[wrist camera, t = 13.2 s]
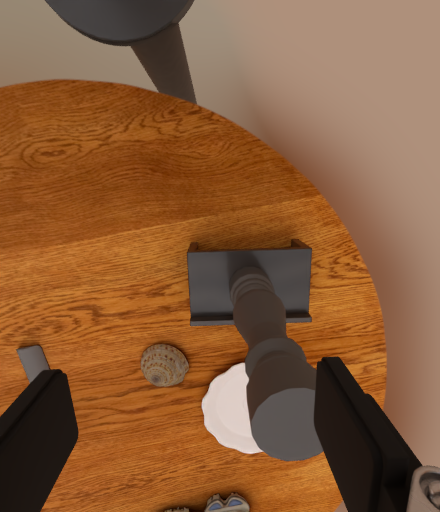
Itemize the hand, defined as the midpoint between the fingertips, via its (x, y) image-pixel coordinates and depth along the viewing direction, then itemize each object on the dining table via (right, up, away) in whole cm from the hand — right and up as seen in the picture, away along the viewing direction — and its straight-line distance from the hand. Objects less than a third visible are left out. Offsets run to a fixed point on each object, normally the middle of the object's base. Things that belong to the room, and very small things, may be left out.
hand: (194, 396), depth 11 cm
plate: (+8, -24, +45) cm, 52 cm away
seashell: (-9, -14, +43) cm, 46 cm away
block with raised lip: (+5, +2, +38) cm, 39 cm away
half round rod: (-32, -20, +44) cm, 58 cm away
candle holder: (+5, +1, +32) cm, 32 cm away
